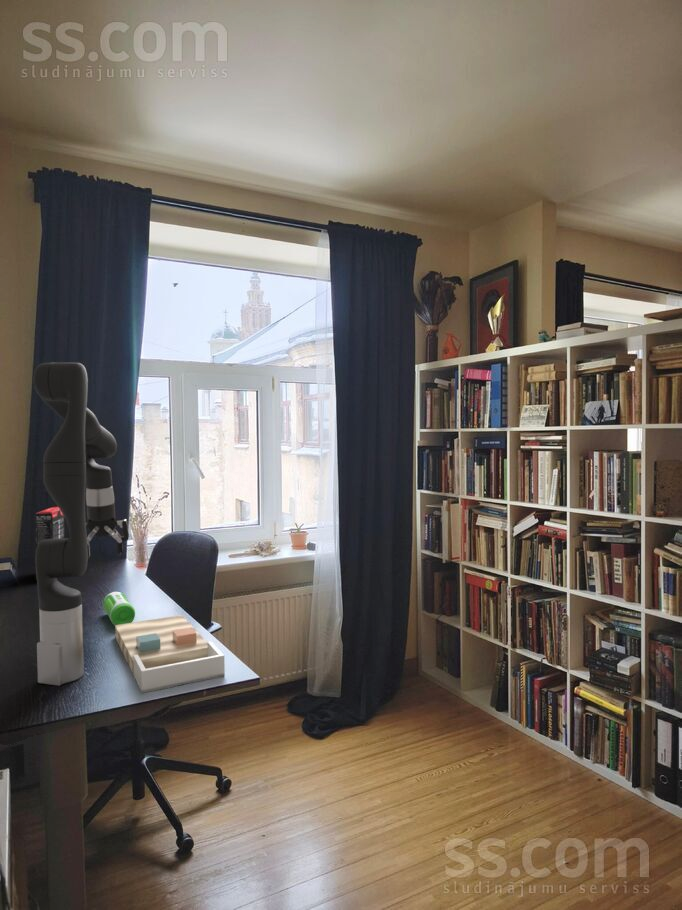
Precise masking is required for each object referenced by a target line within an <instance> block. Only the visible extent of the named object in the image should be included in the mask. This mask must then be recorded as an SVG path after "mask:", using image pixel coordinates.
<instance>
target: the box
mask: <svg viewBox="0 0 682 910" xmlns="http://www.w3.org/2000/svg"><path fill="white" fill-rule="evenodd" d="M206 642H207V654H208V657H205V658H200V659H195V660H189V661H184V662H179V663H174V664H169V665H163V666H158V667H153V668H148V669H145V667H144V665H143V663H142V661H141V660H140V658H139V656H138V654H137V655H133V662H134V675H133V677H134V679H135V680H136V682H137V683H136V684H137V685H138V687H139V690H140V691H141V694H146V693H151V692H155V691H159V690H165V689H169V688H168V687H170V688H174V687H173V686H175V687H178V686H177V685H179V686H182V685H181V684H184V685H186V684H185V683H189V684H191V683H190V682H194V683H197V682H203V681H208V680H212V679H217V678H222V677H225V676H226V675H225V672H226V671H225V670H226V669H225V654H223V652H222V651H221V650H220V649H219V648H218V647H217V645H215V644H214V642H212V641H211V640H209V641H206Z"/></svg>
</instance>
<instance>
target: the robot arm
mask: <svg viewBox="0 0 682 910" xmlns="http://www.w3.org/2000/svg"><path fill="white" fill-rule="evenodd" d="M33 385H34V389H35V391H36V393H37V395H38V396H39V398H41V400H42V401H43V402H44V403H45V404H46V405H47V406H48V407H49V408H50V409H51V410H52V411H53V412H54V413H55V414H57V415H58V416H59V417H60V418H61V419H62V420H63V423H62V424H61V427H60V428H59V430H58V431H57V433H56V434H55V435H54V437H53V438H52V440H51V441H50V443H49V445H47V448H46V450H45V452H44V454H43V460H42V462H43V464H42V465H43V467H42V472H43V473H42V475H43V486H44V487H45V489H46V491H47V493H48V495H50V497H51V499H52V500H53V501H54V503H55V504H56V507H59V508H60V510H61V511H62V513H63V515H64V520H65V522H66V524H67V527H68V533H69V538H68V537H67V538H65V537H64V538H62V539H45V540H42V541H40V542H39V544H38V546H37V549H36V548H35V561H34V562H35V576H36V575H37V582H36V584H37V599H38V608H39V609H38V611H39V613H38V616H39V642H37V643H36V655H37V656H36V657H37V658H36V659H37V661H36V664H37V683H39V684H45V685H53V686H61V685H63V684H68V683H71V682H73V681H77V680H78V679H80V678H81V677H83V675H84V674H85V672H84V671H85V670H84V668H85V667H84V638H83V637H84V636H83V635H84V634H83V598H82V597H83V596H82V592H81V591H79V590H78V589H76V588H72V587H70V586H67V585H65V584H63V583H61V582H60V581H59V579H60V578H61V579H64V578H65V579H67V578H78V577H83V576H84V575H85V573H86V571H87V568H88V563H89V562H88V560H89V558H90V557H91V544H90V542H91V541H92V539H93V538H94V537H97V538H100V537H109V536H110V537H112V538H113V539H114V540H116V543H117V544H116V545H117V546H116V547H117V548H116V549H117V555H118V556H121V555H122V554H123V551H124V542H126V541H129V537H130V532H129V525H128V519H126V518H124V519H122V520H117V518H116V507H115V501H116V499H115V493H114V488H113V478H112V477H113V475H112V469H111V468H110V467H109V466H106V465H102V464H99V463H96V461H95V459H109V458H112V457H114V455H115V454H116V452H117V450H118V443H117V440H116V438H115V436H114V435H113V434H112V433H111V432H110V431H109V430H107V429H106V428H105V427H104V426H102V425H101V424H100V422H99V420H98V418H97V416H96V414H94V412H93V411H91V410H90V409H89V408H88V407H87V405H88V404H87V403H88V390H89V389H88V388H89V378H88V373H87V369H86V367H85V365H83V364H82V362H81V363H80V362H74V361H73V362H69V361H68V362H63V361H62V362H61V361H60V362H53V361H52V362H43V363H40V364H38V365H37V366H36V368H35V370H34V374H33ZM86 515H87V522H86ZM117 526H119V527H120V528H121V529H122V533H123V535H122V536H121V534H120V533H119V532H118V530H117V529H116V528H117ZM87 530H88V531H89V534H87Z"/></svg>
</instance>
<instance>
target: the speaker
mask: <svg viewBox="0 0 682 910" xmlns="http://www.w3.org/2000/svg"><path fill="white" fill-rule="evenodd" d="M102 607H103V609H104V611H105V612H106V614H107V616H108V618H109V620H110V622H111V623H112V624H113V625H114V626H115V625H120V624H126V623H133V622H134V620H135V618H136V610H135V607H134V606H133V604H131V602H129V600H128V599H127V597H126V595H125V594H124V593H122V592H120V591H112V592H110V593H108V594H107V595H106V596H105V597H104V599H103V602H102Z"/></svg>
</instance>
